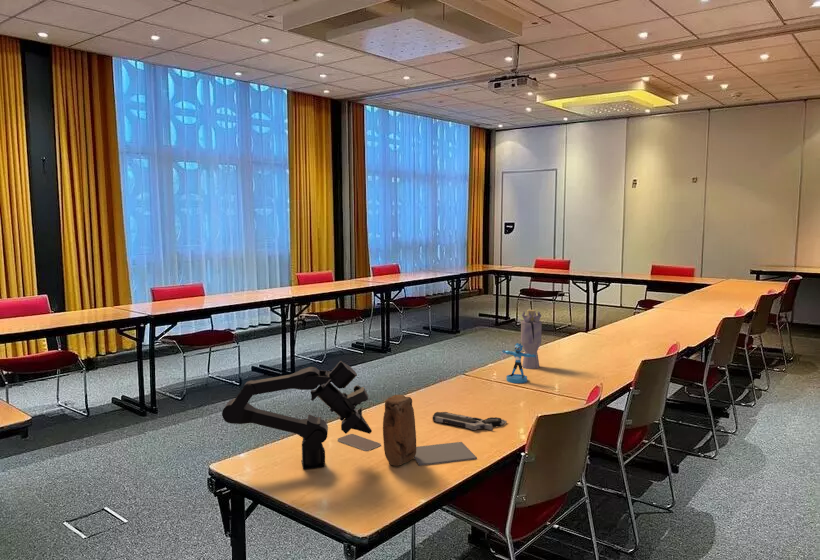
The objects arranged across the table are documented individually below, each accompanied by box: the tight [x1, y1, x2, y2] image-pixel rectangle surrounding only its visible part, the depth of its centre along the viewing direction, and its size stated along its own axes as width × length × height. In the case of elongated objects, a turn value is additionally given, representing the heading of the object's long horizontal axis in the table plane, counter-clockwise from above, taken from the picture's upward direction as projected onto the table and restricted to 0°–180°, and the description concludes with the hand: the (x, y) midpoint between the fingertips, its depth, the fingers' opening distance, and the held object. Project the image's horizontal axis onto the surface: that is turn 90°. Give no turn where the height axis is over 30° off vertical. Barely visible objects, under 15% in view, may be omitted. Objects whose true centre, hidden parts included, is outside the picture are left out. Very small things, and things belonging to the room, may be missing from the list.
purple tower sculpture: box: [520, 309, 543, 370], centre depth 303 cm, size 10×10×30 cm
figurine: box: [501, 342, 536, 384], centre depth 277 cm, size 18×10×18 cm, turn 52°
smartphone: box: [337, 433, 382, 452], centre depth 201 cm, size 7×1×15 cm
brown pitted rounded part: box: [382, 394, 417, 467], centre depth 184 cm, size 11×8×20 cm
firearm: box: [432, 411, 507, 431], centre depth 220 cm, size 3×24×15 cm
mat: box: [413, 441, 478, 467], centre depth 190 cm, size 19×14×1 cm
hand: (370, 432), depth 183 cm, fingers closed
